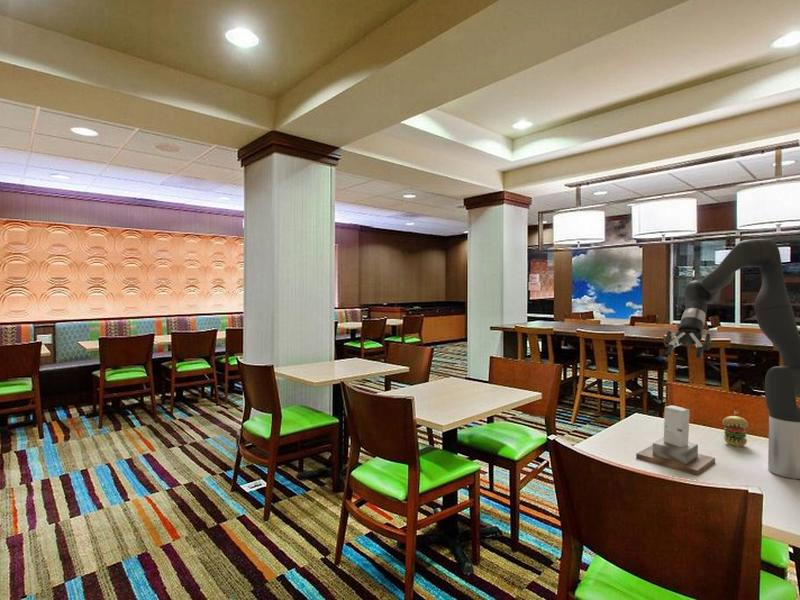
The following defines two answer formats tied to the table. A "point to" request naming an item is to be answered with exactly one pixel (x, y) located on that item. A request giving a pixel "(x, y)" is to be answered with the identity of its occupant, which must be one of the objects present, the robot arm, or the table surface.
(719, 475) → the table surface
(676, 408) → the skincare box
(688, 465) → the display stand
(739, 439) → the hamburger
